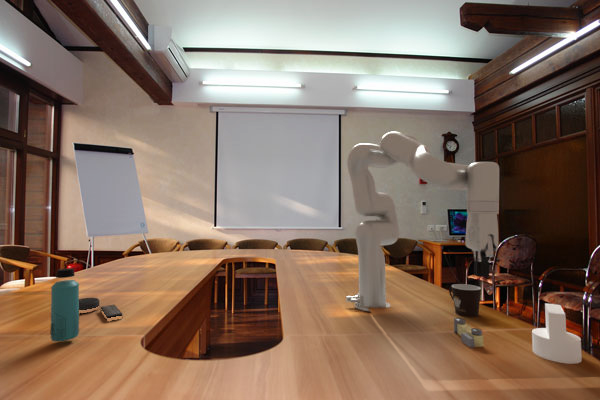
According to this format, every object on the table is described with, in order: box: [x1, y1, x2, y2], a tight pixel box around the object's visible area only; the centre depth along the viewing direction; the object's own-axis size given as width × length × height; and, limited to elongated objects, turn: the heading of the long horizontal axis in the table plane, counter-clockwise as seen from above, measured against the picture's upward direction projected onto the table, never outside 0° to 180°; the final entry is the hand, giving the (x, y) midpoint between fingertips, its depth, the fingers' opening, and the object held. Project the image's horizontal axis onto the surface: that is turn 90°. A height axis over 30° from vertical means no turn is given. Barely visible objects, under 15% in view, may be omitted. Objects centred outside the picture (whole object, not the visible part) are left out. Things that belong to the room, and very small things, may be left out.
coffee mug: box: [448, 283, 482, 318], centre depth 110 cm, size 12×9×10 cm
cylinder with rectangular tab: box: [531, 302, 582, 365], centre depth 77 cm, size 9×9×12 cm
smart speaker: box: [79, 297, 100, 310], centre depth 120 cm, size 9×9×4 cm
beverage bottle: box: [49, 267, 81, 342], centre depth 91 cm, size 6×7×20 cm
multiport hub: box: [100, 304, 123, 318], centre depth 114 cm, size 4×14×2 cm, turn 38°
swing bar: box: [453, 317, 484, 348], centre depth 87 cm, size 12×3×4 cm, turn 0°
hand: (481, 276), depth 90 cm, fingers closed
